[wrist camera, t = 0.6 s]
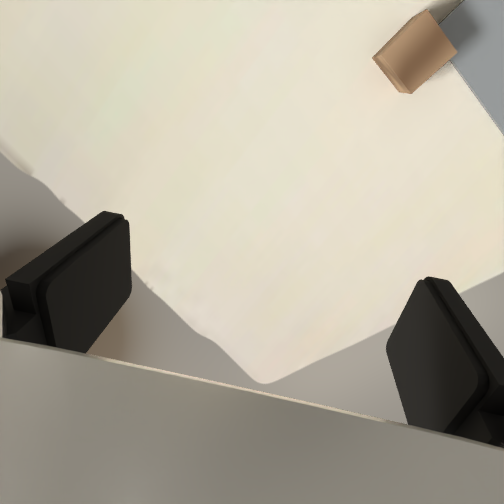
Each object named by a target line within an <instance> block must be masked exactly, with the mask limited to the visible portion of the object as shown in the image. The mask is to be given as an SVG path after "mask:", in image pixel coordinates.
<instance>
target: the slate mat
mask: <svg viewBox="0 0 504 504" xmlns="http://www.w3.org/2000/svg"><path fill="white" fill-rule="evenodd" d="M439 27H440V28H441V30H442V31H443V32H444V34H445V35H446V37H447V38H448V39H449V41H450V42H451V44H452V45H453V47H454V48H455V49H456V51H457V53H456V54H455V55H454V56H453V57H452V58H451V59H450V61H451V63H452V64H453V66H454V67H455V68H456V70H457V71H458V73H459V74H460V75H461V77H462V78H463V79H464V81H465V82H466V84H467V85H468V86H469V88H470V89H471V91H472V92H473V93H474V95H475V96H476V98H477V99H478V100H479V102H480V103H481V104H482V106H483V107H484V109H485V110H486V111H487V113H488V114H489V116H490V117H491V118H492V120H493V121H494V122H495V124H496V125H497V127H498V128H499V129H500V131H501V132H502V134H503V135H504V0H464V1H462V2H461V3H460V4H459V5H458V6H457V7H456V8H455V9H454V10H453V11H452V12H451V13H450V14H449V15H448V16H447V17H446V18H445V19H444V20H443V21H442V22H441V23H440V24H439Z"/></svg>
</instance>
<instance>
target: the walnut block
mask: <svg viewBox="0 0 504 504" xmlns="http://www.w3.org/2000/svg"><path fill="white" fill-rule="evenodd" d="M456 53H457V51H456V49H455V48H454V47H453V45H452V44H451V42H450V41H449V39H448V38H447V37H446V35H445V34H444V32H443V31H442V30H441V28H440V27H439V25H438V24H437V22H436V21H435V20H434V18H433V17H432V15H431V14H430V13H429V11H428V10H425V11H423V12H421V13H419V14H418V15H416V16H414V17H412V18H411V19H410V20H409V21H408V22H407V23H406V24H405V25H404V26H403V27H402V28H401V29H400V30H399V31H398V32H397V33H396V34H395V35H394V36H393V37H392V38H391V39H390V40H389V41H388V42H387V43H386V44H385V45H384V46H383V47H382V48H381V49H380V50H379V51H378V52H377V53H376V54H375V55H374V56H373V57H372V59H373V60H374V61H375V62H376V64H377V65H378V66H379V67H380V69H381V70H382V71H383V72H384V74H385V75H386V76H387V78H388V79H389V80H390V81H391V83H392V84H393V85H394V86H395V88H396V89H397V90H398V91H399V92H402V93H409V94H412V93H413V92H414V91H415V90H416V89H417V88H418V87H420V86H421V85H422V84H423V83H424V82H425V81H426V80H427V79H428V78H430V77H431V76H432V75H433V74H434V73H435V72H436V71H437V70H439V69H440V68H441V67H442V66H443V65H444V64H445V63H446V62H447V61H449V60H450V59H451V58H452V57H453V56H454V55H455V54H456Z"/></svg>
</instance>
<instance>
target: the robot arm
mask: <svg viewBox="0 0 504 504" xmlns="http://www.w3.org/2000/svg"><path fill="white" fill-rule="evenodd" d="M5 280H6V283H7V286H5V287H4V288H3V289H1V290H0V504H504V358H503V356H502V355H501V354H500V352H499V351H498V349H497V348H496V346H495V345H494V344H493V342H492V341H491V339H490V338H489V336H488V335H487V334H486V332H485V331H484V329H483V328H482V327H481V326H480V324H479V322H478V321H477V320H476V318H475V317H474V315H473V314H472V312H471V311H470V310H469V308H468V307H467V305H466V304H465V303H464V301H463V300H462V298H461V297H460V295H459V294H458V293H457V291H456V290H455V288H454V287H453V286H452V284H451V283H450V282H449V281H448V280H444V279H439V278H434V277H429V276H428V277H426V278H425V279H424V280H419V281H418V282H417V284H416V286H415V288H414V290H413V292H412V294H411V296H410V298H409V300H408V302H407V304H406V306H405V308H404V310H403V312H402V314H401V315H400V317H399V319H398V321H397V323H396V325H395V327H394V329H393V332H392V333H391V335H390V338H389V339H388V342H387V345H386V352H387V356H388V359H389V362H390V366H391V369H392V372H393V376H394V379H395V382H396V386H397V389H398V392H399V395H400V399H401V402H402V405H403V408H404V412H405V415H406V418H407V422H408V425H407V424H403V423H398V422H394V421H390V420H385V419H381V418H376V417H372V416H368V415H363V414H359V413H355V412H350V411H346V410H341V409H337V408H332V407H328V406H323V405H319V404H315V403H310V402H306V401H301V400H297V399H292V398H288V397H283V396H279V395H274V394H269V393H265V392H260V391H256V390H251V389H247V388H243V387H238V386H233V385H229V384H224V383H220V382H215V381H211V380H206V379H202V378H197V377H193V376H188V375H183V374H179V373H174V372H169V371H165V370H160V369H155V368H151V367H146V366H141V365H137V364H132V363H128V362H123V361H118V360H114V359H109V358H104V357H100V356H95V355H90V354H86V352H87V351H88V350H89V348H90V347H91V346H92V345H93V343H94V342H95V341H96V339H97V338H98V337H99V335H100V334H101V333H102V332H103V330H104V329H105V328H106V326H107V325H108V324H109V322H110V321H111V320H112V319H113V317H114V316H115V315H116V313H117V312H118V311H119V309H120V308H121V307H122V305H123V304H124V303H125V302H126V300H127V299H128V298H129V296H130V293H131V289H132V281H131V255H130V230H129V222H128V220H125V219H124V216H123V215H122V214H117V213H112V212H107V211H103V212H101V213H99V214H98V215H97V216H95V217H94V218H92V219H91V220H89V221H88V222H87V223H85V224H84V225H82V226H81V227H79V228H78V229H77V230H75V231H74V232H72V233H71V234H70V235H68V236H66V237H65V238H64V239H62V240H61V241H59V242H58V243H57V244H55V245H54V246H52V247H51V248H49V249H48V250H46V251H45V252H44V253H42V254H41V255H39V256H38V257H36V258H35V259H34V260H32V261H31V262H29V263H28V264H26V265H25V266H23V267H22V268H21V269H19V270H18V271H16V272H15V273H14V274H12V275H11V276H9V277H8V278H6V279H5Z"/></svg>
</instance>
